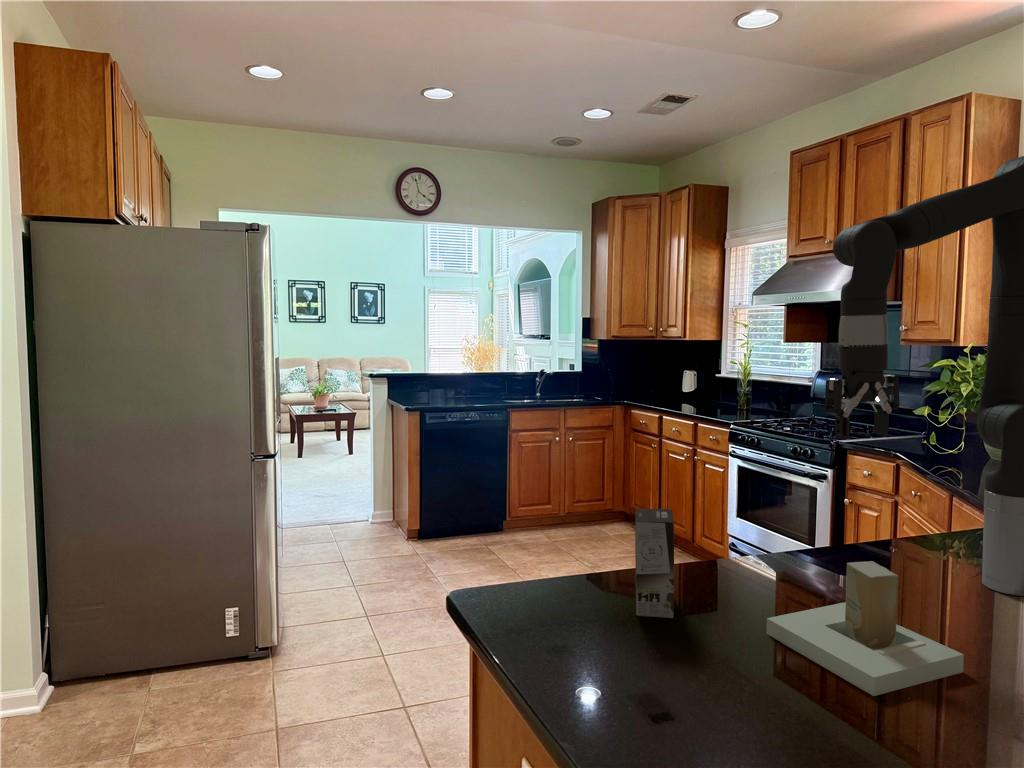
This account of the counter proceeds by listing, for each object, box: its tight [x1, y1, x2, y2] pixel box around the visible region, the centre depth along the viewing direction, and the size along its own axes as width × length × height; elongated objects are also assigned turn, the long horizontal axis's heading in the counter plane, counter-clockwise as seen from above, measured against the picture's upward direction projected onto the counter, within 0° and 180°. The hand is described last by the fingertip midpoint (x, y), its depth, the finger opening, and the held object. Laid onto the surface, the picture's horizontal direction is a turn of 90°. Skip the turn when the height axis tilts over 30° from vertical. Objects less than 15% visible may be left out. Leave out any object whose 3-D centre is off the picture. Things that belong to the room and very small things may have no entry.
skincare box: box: [845, 560, 899, 651], centre depth 102 cm, size 6×4×12 cm
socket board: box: [766, 601, 965, 697], centre depth 102 cm, size 16×20×3 cm
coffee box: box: [634, 508, 675, 619], centre depth 120 cm, size 9×6×16 cm
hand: (862, 436), depth 121 cm, fingers open, 8 cm apart
